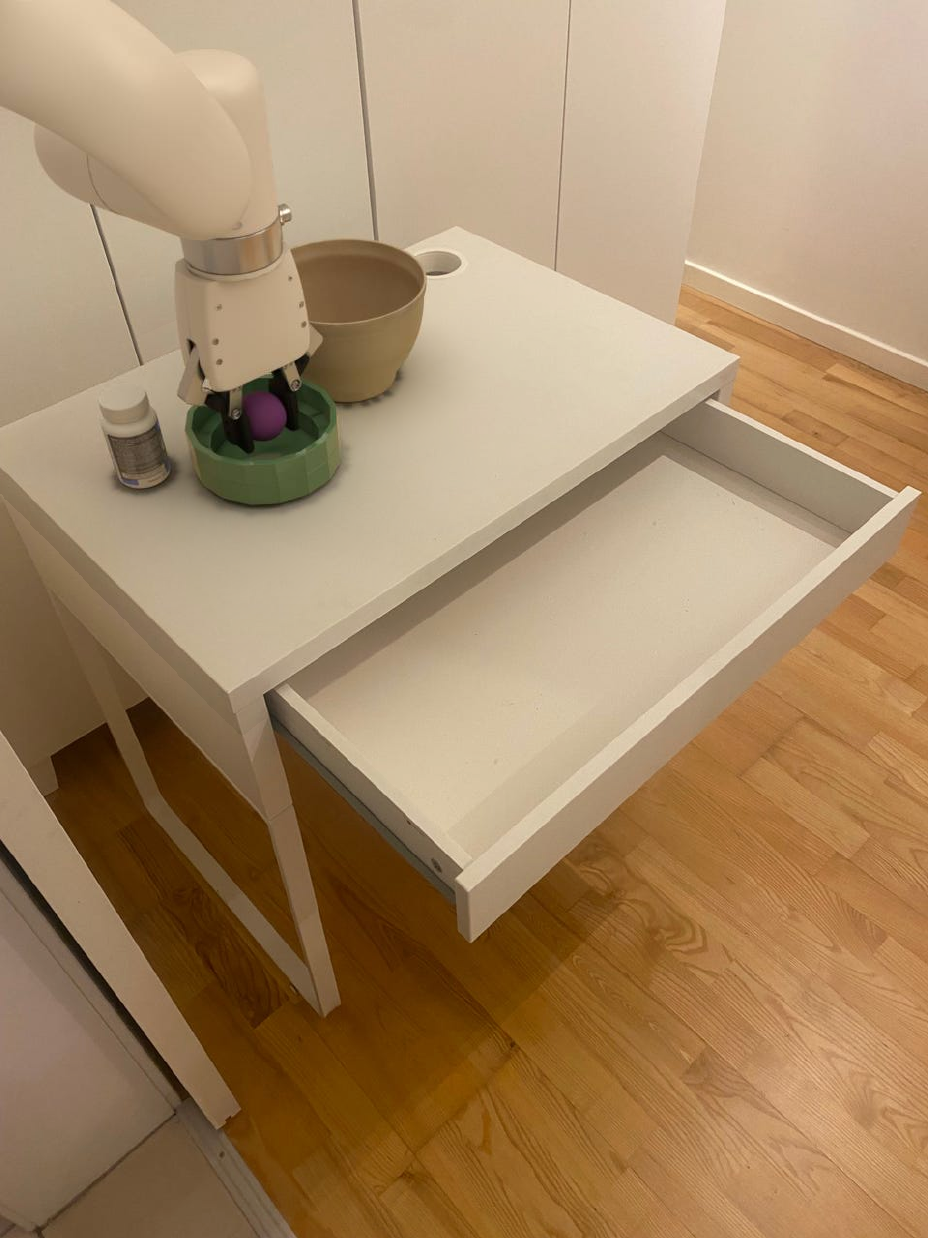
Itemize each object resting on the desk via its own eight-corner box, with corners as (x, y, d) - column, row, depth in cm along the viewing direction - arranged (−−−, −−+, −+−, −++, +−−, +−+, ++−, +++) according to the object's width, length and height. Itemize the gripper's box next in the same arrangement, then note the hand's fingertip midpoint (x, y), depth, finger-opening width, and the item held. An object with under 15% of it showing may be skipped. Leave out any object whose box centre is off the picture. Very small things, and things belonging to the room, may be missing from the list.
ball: (231, 446, 85) (223, 404, 82) (252, 417, 88) (245, 376, 85) (277, 455, 84) (270, 414, 81) (297, 426, 87) (291, 385, 84)
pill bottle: (182, 472, 87) (162, 395, 81) (137, 497, 85) (113, 419, 79) (151, 449, 89) (129, 372, 83) (107, 473, 87) (81, 395, 81)
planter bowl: (439, 341, 102) (439, 243, 94) (411, 432, 92) (409, 331, 84) (293, 326, 104) (280, 228, 96) (248, 415, 93) (230, 313, 85)
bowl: (170, 491, 85) (157, 446, 82) (235, 407, 94) (227, 363, 90) (307, 522, 83) (301, 478, 79) (361, 433, 92) (358, 389, 88)
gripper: (292, 190, 78) (313, 380, 92) (106, 256, 70) (160, 454, 84) (349, 222, 75) (363, 416, 88) (161, 296, 67) (208, 496, 80)
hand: (264, 432), depth 86 cm, fingers closed on ball, 4 cm apart
